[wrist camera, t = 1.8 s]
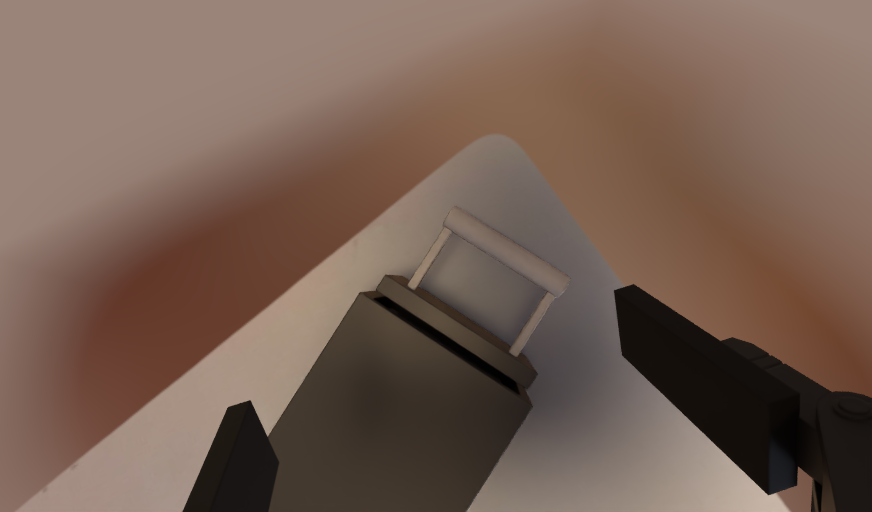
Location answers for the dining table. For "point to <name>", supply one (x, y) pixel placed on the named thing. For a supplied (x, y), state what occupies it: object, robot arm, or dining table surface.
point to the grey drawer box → (392, 420)
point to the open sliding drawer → (457, 324)
